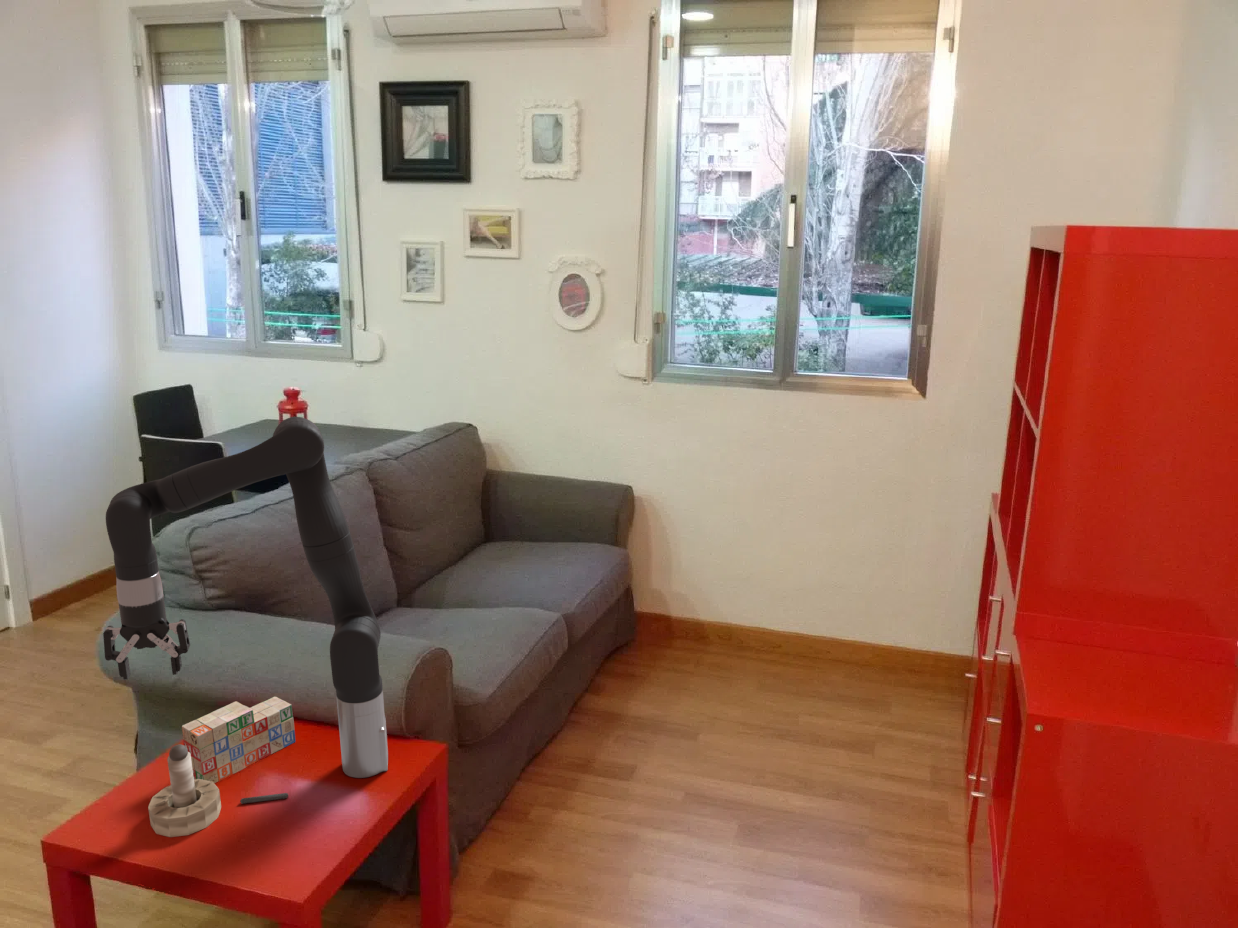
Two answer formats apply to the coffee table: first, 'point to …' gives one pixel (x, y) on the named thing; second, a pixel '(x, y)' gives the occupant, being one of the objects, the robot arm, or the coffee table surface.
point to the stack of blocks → (237, 737)
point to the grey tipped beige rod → (181, 776)
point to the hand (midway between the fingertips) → (151, 675)
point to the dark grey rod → (264, 798)
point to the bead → (185, 810)
